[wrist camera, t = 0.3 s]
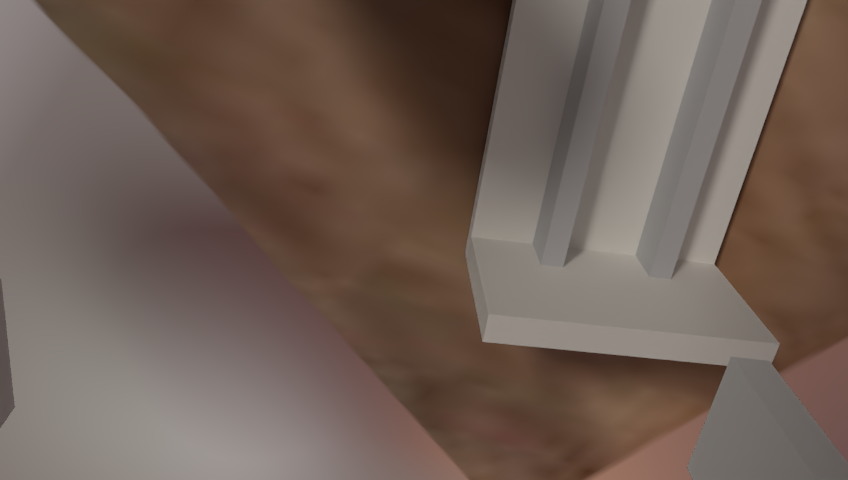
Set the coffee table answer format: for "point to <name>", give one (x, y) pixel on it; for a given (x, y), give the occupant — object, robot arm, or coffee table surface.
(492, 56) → the coffee table surface
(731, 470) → the robot arm
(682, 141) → the track
